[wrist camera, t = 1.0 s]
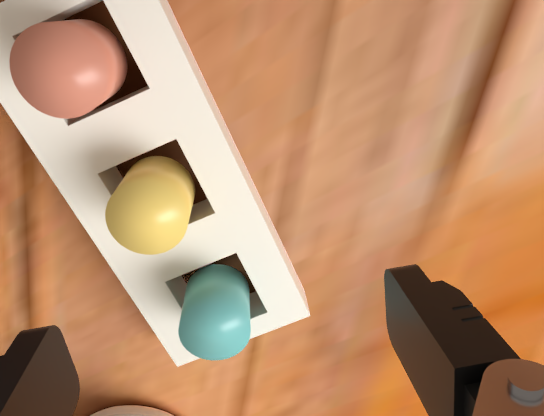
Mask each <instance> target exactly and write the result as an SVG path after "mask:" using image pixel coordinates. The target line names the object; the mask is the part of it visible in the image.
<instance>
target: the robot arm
mask: <svg viewBox="0 0 544 416" xmlns="http://www.w3.org/2000/svg"><path fill="white" fill-rule="evenodd" d="M384 282H385V302H386V321H387V329H388V333H389V337H390V340H391V343H392V346H393V348H394V350H395V352H396V354H397V356H398V357H399V359H400V361H401V363H402V365H403V367H404V369H405V371H406V373H407V375H408V377H409V379H410V381H411V382H412V384H413V386H414V388H415V390H416V392H417V394H418V396H419V398H420V400H421V402H422V404H423V406H424V407H425V409H426V411H427V413H428V415H429V416H544V365H541V364H539V363H536V362H532V361H528V360H523V359H520V357H519V356H518V355H517V354H516V353H515V352H514V351H513V350H512V348H511V347H510V346H509V345H508V344H507V343H506V342H505V340H504V339H503V338H502V337H501V336H500V335H499V334H498V332H497V331H496V330H495V329H494V328H493V327H492V326H491V325H490V323H489V322H488V321H487V320H486V319H485V318H484V319H483V316H482V314H481V313H480V312H479V311H478V310H477V309H476V307H473V304H472V303H471V302H470V301H469V300H468V298H467V297H466V296H465V295H464V294H463V293H462V292H461V291H460V290H459V289H457V288H455V287H453V286H451V285H449V284H448V283H446V282H444V281H436V282H431V281H430V280H429V279H428V277H427V276H426V275H425V274H424V272H423V271H422V270H421V269H420V267H419V266H418V265H416V264H414V265H408V266H403V267H397V268H391V269H386V270H385V274H384ZM79 391H80V386H79V378H78V374H77V372H76V369H75V366H74V364H73V361H72V359H71V356H70V353H69V351H68V348H67V345H66V343H65V340H64V338H63V335H62V333H61V331H60V329H59V328H58V327H57V326H55V325H52V326H47V327H41V328H35V329H29V330H23V331H21V332H20V333H19V334H18V335H17V337H16V338H15V340H14V341H13V343H12V344H11V346H10V347H9V349H8V350H7V352H6V353H5V355H2V356H0V416H73V413H74V410H75V408H76V405H77V402H78V399H79Z"/></svg>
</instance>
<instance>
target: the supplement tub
mask: <svg viewBox="0 0 544 416" xmlns="http://www.w3.org/2000/svg"><path fill="white" fill-rule="evenodd" d="M90 416H174V415H172V414H170V413H168V412H165V411H162V410H159V409H156V408H152V407H147V406H139V405H123V406H114V407H109V408H106V409H103V410H101V411H98V412H96V413H94V414H92V415H90Z"/></svg>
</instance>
